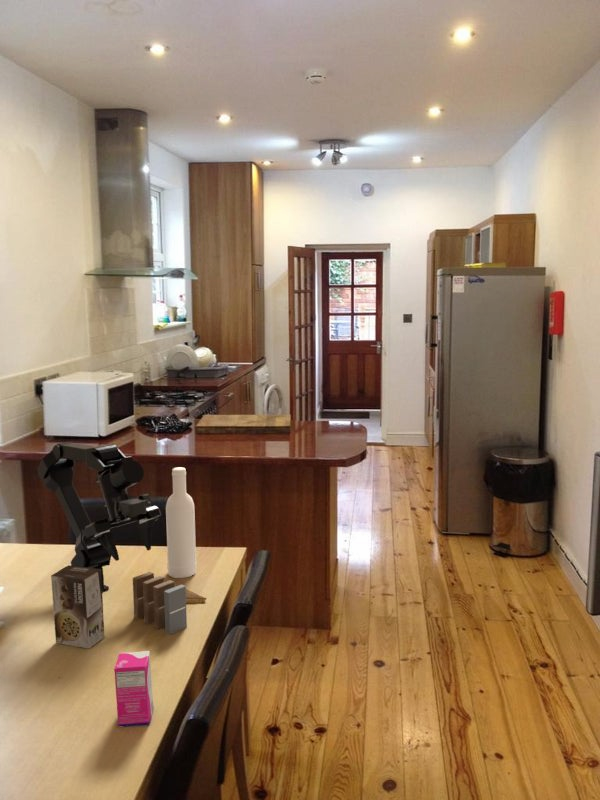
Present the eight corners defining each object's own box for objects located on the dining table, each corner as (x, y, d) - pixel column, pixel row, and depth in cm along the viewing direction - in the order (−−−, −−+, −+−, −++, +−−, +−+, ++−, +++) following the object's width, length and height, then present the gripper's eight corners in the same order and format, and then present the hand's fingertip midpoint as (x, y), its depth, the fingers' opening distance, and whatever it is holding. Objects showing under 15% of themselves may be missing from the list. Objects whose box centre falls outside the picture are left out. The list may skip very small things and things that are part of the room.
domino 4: (165, 632, 162) (163, 591, 161) (182, 624, 166) (181, 584, 165) (169, 634, 161) (168, 593, 160) (186, 627, 165) (185, 586, 164)
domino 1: (134, 617, 170) (132, 577, 169) (151, 610, 174) (149, 571, 173) (138, 619, 169) (136, 579, 168) (155, 612, 173) (153, 573, 171)
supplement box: (121, 709, 132) (119, 651, 130) (154, 707, 132) (151, 650, 131) (116, 727, 126) (113, 667, 124) (150, 725, 127) (147, 666, 125)
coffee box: (105, 636, 161) (102, 568, 158) (88, 649, 155) (85, 579, 152) (72, 630, 164) (68, 564, 161) (54, 643, 157) (50, 574, 155)
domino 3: (154, 627, 165) (152, 586, 164) (171, 619, 169) (170, 580, 167) (159, 629, 164) (157, 588, 162) (176, 622, 168) (174, 581, 166)
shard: (207, 603, 179) (206, 597, 178) (182, 613, 173) (182, 606, 173) (181, 592, 186) (180, 585, 186) (156, 600, 181) (156, 594, 180)
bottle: (201, 573, 197) (199, 468, 193) (177, 580, 192) (173, 473, 188) (186, 565, 203) (183, 463, 199) (162, 572, 198) (158, 468, 194)
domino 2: (144, 622, 168) (142, 582, 166) (161, 615, 171) (159, 575, 170) (148, 624, 166) (146, 583, 165) (165, 617, 170) (164, 577, 169)
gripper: (98, 493, 162) (117, 559, 160) (163, 478, 176) (182, 538, 174) (75, 505, 169) (93, 568, 167) (140, 489, 183) (157, 547, 181)
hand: (133, 555), depth 172 cm, fingers open, 9 cm apart
